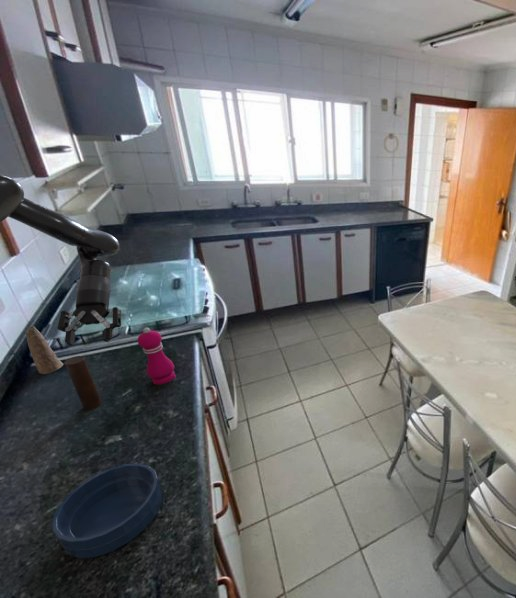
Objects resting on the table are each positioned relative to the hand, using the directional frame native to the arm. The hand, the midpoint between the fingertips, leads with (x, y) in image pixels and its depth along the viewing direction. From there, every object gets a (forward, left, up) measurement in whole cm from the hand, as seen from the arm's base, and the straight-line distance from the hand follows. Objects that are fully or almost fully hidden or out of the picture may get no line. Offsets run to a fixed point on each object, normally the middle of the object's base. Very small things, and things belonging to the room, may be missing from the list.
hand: (88, 342), depth 98 cm
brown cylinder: (-1, -9, -16) cm, 18 cm away
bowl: (+14, -50, -16) cm, 54 cm away
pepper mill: (+16, -3, -16) cm, 23 cm away
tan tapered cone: (-16, +11, -16) cm, 25 cm away
